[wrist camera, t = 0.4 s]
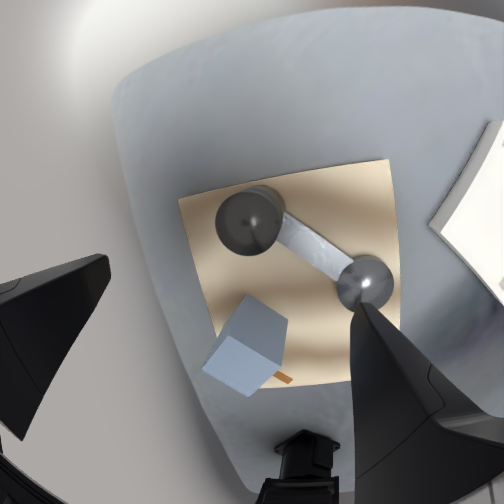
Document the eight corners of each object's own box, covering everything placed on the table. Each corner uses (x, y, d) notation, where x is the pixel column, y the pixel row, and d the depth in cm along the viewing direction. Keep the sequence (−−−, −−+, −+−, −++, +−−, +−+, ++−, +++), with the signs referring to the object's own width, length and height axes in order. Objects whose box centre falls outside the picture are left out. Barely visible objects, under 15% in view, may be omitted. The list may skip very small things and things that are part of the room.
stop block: (261, 349, 24) (248, 397, 19) (223, 325, 24) (201, 369, 18) (288, 319, 23) (281, 366, 17) (247, 293, 23) (228, 335, 17)
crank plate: (393, 362, 24) (396, 372, 22) (238, 379, 28) (234, 389, 26) (383, 159, 19) (389, 159, 17) (185, 196, 23) (176, 199, 21)
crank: (401, 275, 20) (423, 306, 15) (365, 316, 21) (377, 354, 17) (256, 170, 19) (240, 172, 15) (224, 220, 21) (200, 238, 16)
